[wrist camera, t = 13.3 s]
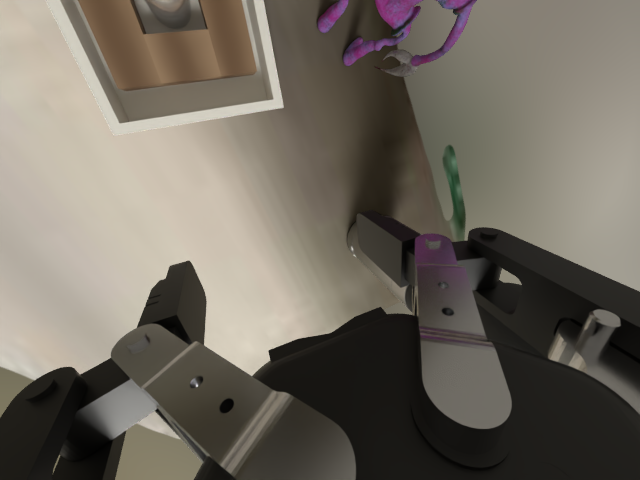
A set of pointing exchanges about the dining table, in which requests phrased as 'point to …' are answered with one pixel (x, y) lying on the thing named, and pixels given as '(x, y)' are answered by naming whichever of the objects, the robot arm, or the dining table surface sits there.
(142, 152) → the dining table surface
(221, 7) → the bore plate
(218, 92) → the box
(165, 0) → the peg
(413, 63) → the toy
